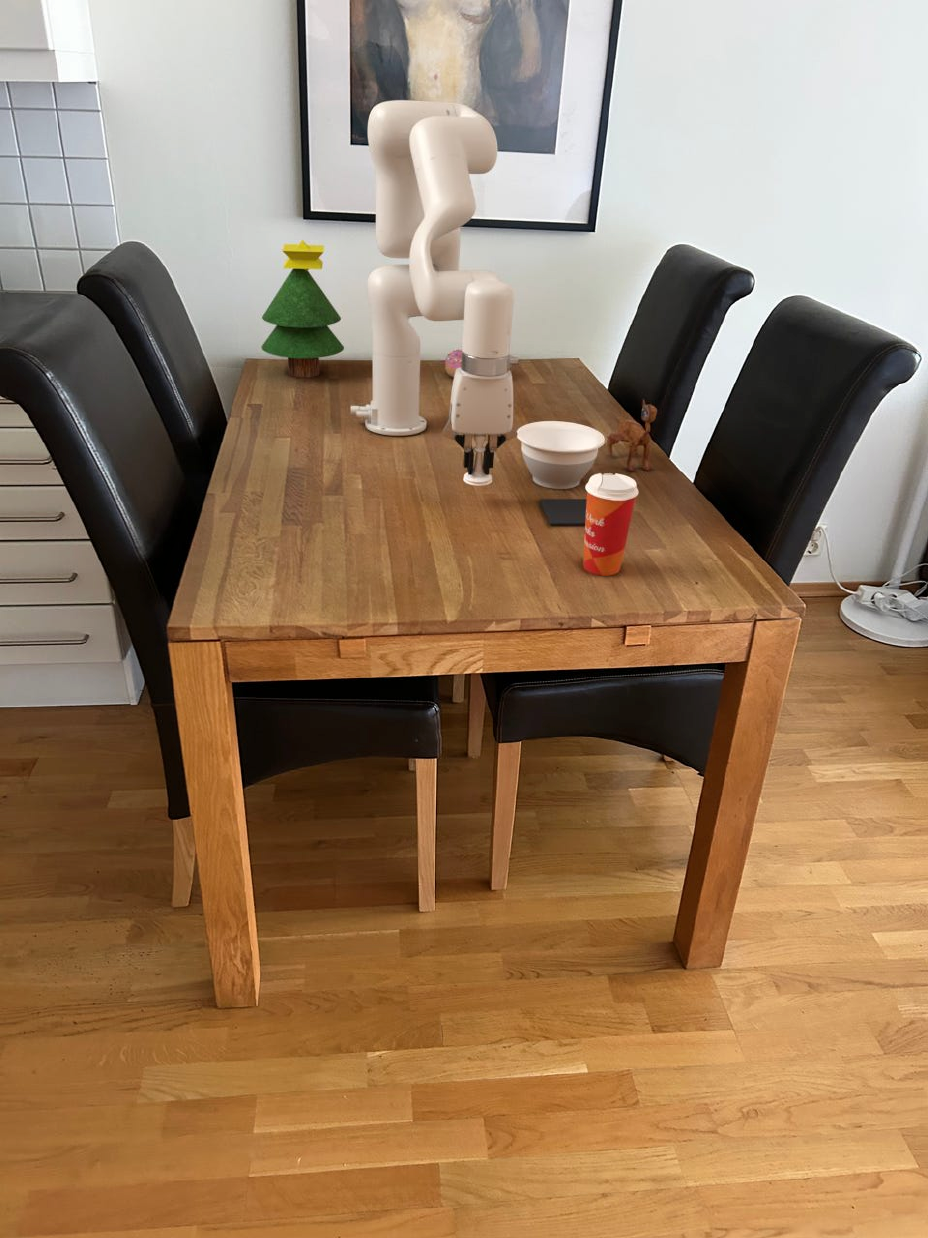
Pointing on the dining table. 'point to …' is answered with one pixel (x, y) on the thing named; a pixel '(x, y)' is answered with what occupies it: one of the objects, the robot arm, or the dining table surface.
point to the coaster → (565, 511)
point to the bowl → (559, 452)
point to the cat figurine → (635, 436)
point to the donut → (453, 362)
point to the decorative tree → (302, 315)
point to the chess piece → (478, 465)
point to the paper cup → (607, 521)
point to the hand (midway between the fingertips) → (477, 470)
